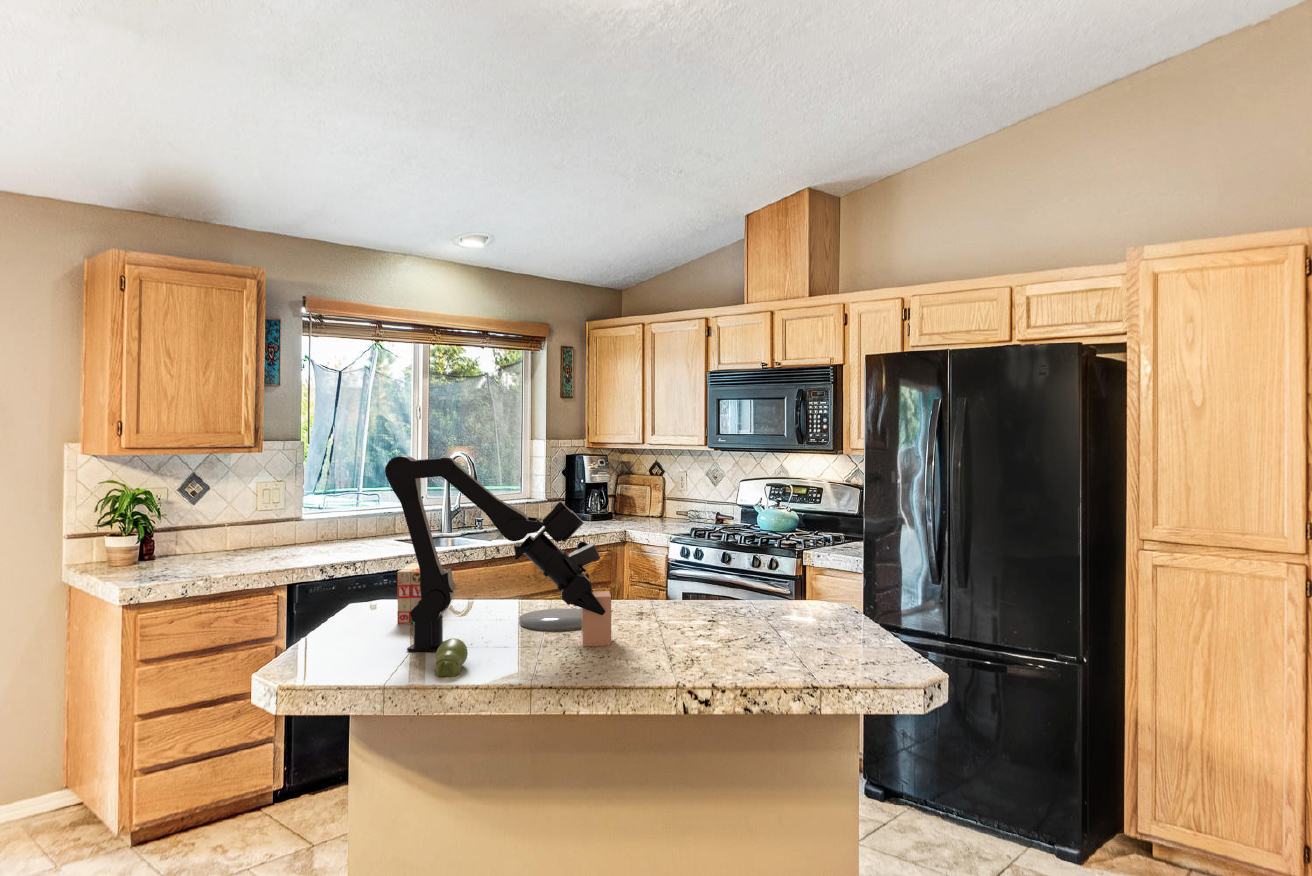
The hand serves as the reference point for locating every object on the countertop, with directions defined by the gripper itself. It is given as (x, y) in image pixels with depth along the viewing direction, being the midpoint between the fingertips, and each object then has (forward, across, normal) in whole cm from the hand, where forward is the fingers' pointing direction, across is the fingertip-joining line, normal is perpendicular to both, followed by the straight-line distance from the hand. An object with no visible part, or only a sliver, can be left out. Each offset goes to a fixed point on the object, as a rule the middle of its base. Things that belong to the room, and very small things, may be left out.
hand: (602, 610), depth 174 cm
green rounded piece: (-16, -17, +26) cm, 34 cm away
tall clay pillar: (+4, 0, +6) cm, 7 cm away
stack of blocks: (-24, +34, +34) cm, 54 cm away
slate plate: (-2, +20, +11) cm, 23 cm away
